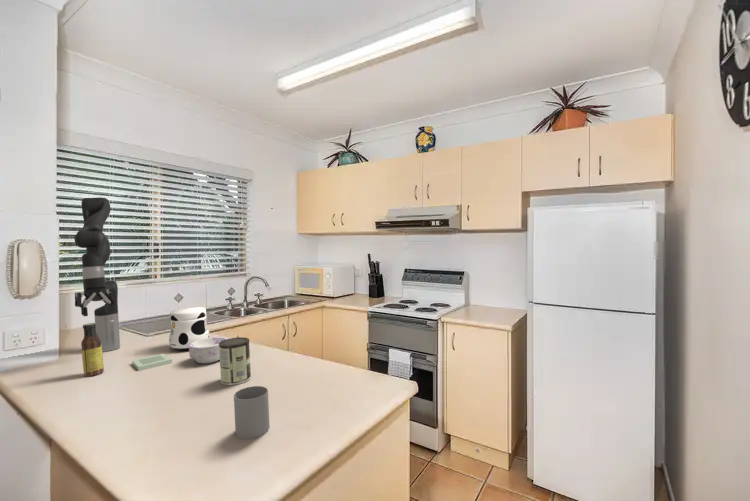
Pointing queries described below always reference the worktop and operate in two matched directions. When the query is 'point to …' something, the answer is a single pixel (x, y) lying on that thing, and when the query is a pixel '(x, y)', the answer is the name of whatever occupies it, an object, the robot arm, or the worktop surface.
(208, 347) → the paper bowls
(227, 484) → the worktop surface
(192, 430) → the worktop surface
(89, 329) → the sauce bottle
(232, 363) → the coffee can
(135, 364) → the trivet
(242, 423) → the cup
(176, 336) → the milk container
